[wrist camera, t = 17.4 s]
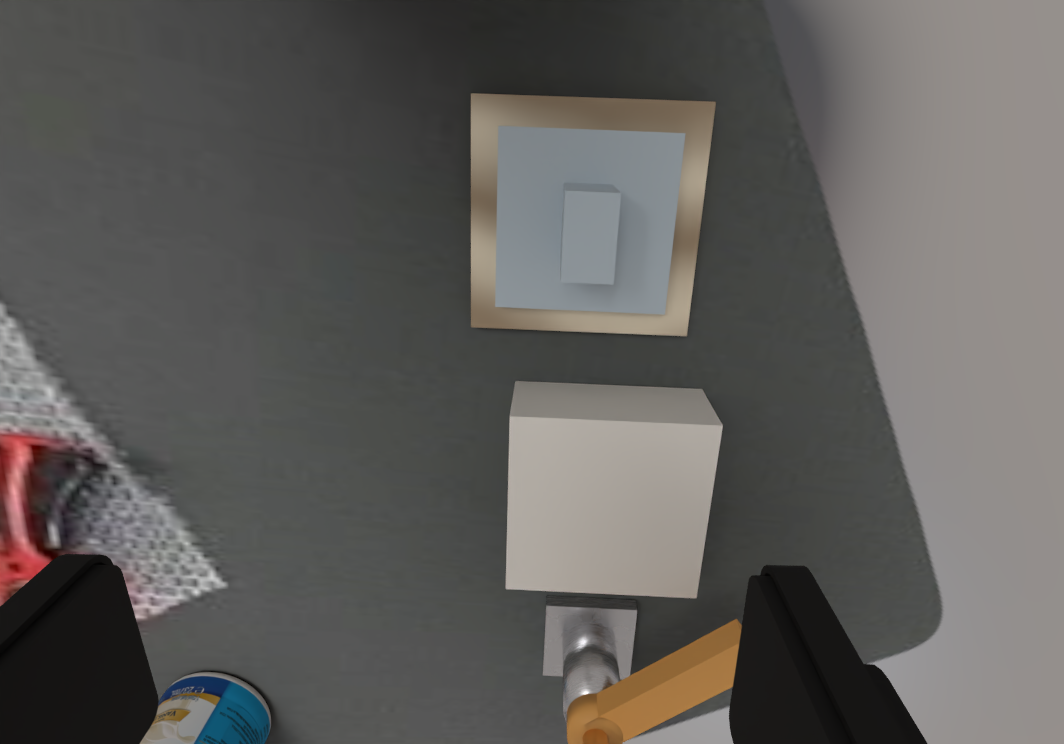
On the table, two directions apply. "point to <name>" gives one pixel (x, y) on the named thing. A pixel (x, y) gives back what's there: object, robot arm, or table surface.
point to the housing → (609, 488)
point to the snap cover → (586, 218)
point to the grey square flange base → (588, 643)
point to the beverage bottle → (210, 712)
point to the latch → (657, 690)
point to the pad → (594, 116)
